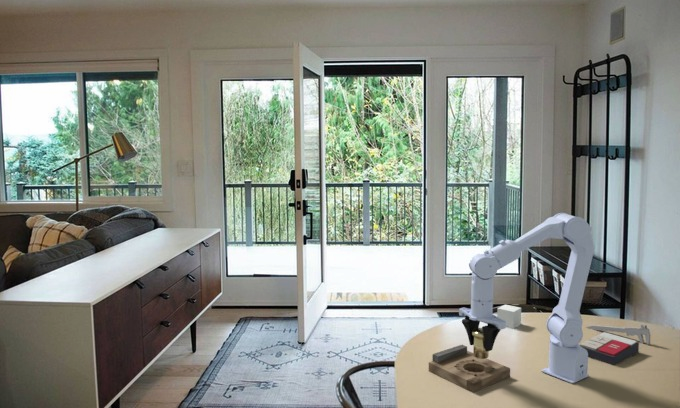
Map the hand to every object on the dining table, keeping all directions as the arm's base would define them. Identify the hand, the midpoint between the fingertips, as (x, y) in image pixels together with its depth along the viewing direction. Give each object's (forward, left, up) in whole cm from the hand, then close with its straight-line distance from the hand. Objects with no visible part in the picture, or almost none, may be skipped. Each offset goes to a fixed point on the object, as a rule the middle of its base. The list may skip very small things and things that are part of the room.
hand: (480, 347), depth 146 cm
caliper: (-7, -59, -8) cm, 60 cm away
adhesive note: (+21, -40, -8) cm, 46 cm away
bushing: (0, 0, -3) cm, 3 cm away
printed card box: (-13, -43, -9) cm, 45 cm away
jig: (+2, +2, -8) cm, 8 cm away
